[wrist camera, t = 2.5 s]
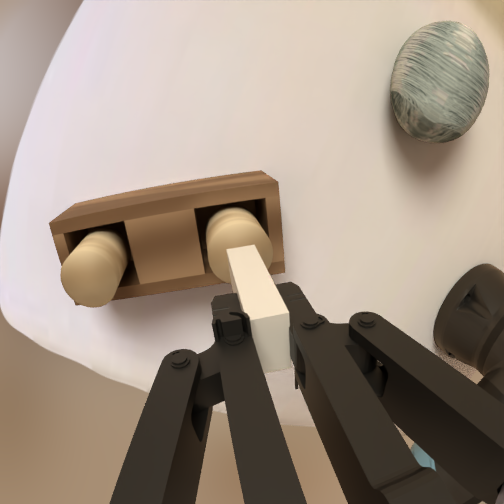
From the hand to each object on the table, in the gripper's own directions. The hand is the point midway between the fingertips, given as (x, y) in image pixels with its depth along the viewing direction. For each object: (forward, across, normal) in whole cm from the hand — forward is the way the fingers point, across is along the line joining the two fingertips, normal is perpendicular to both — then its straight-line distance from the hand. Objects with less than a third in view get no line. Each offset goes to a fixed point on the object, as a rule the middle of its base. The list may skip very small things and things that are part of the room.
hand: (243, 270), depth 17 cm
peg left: (+9, +10, 0) cm, 13 cm away
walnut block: (+12, +5, 0) cm, 13 cm away
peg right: (+9, 0, 0) cm, 9 cm away
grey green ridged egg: (+12, -21, -12) cm, 27 cm away
